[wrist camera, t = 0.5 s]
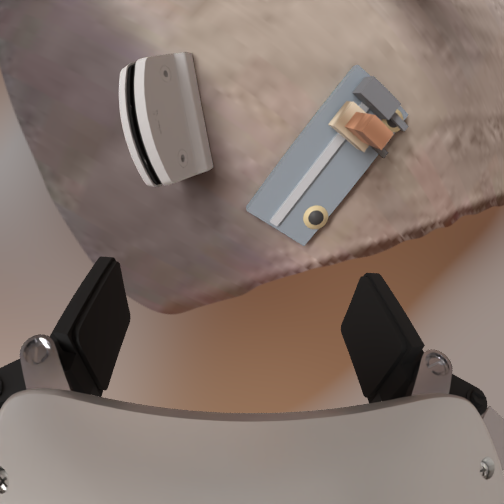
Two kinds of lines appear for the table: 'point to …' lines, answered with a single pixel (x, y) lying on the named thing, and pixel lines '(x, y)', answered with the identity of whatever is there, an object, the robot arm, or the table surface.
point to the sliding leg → (361, 128)
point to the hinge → (164, 118)
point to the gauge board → (323, 161)
